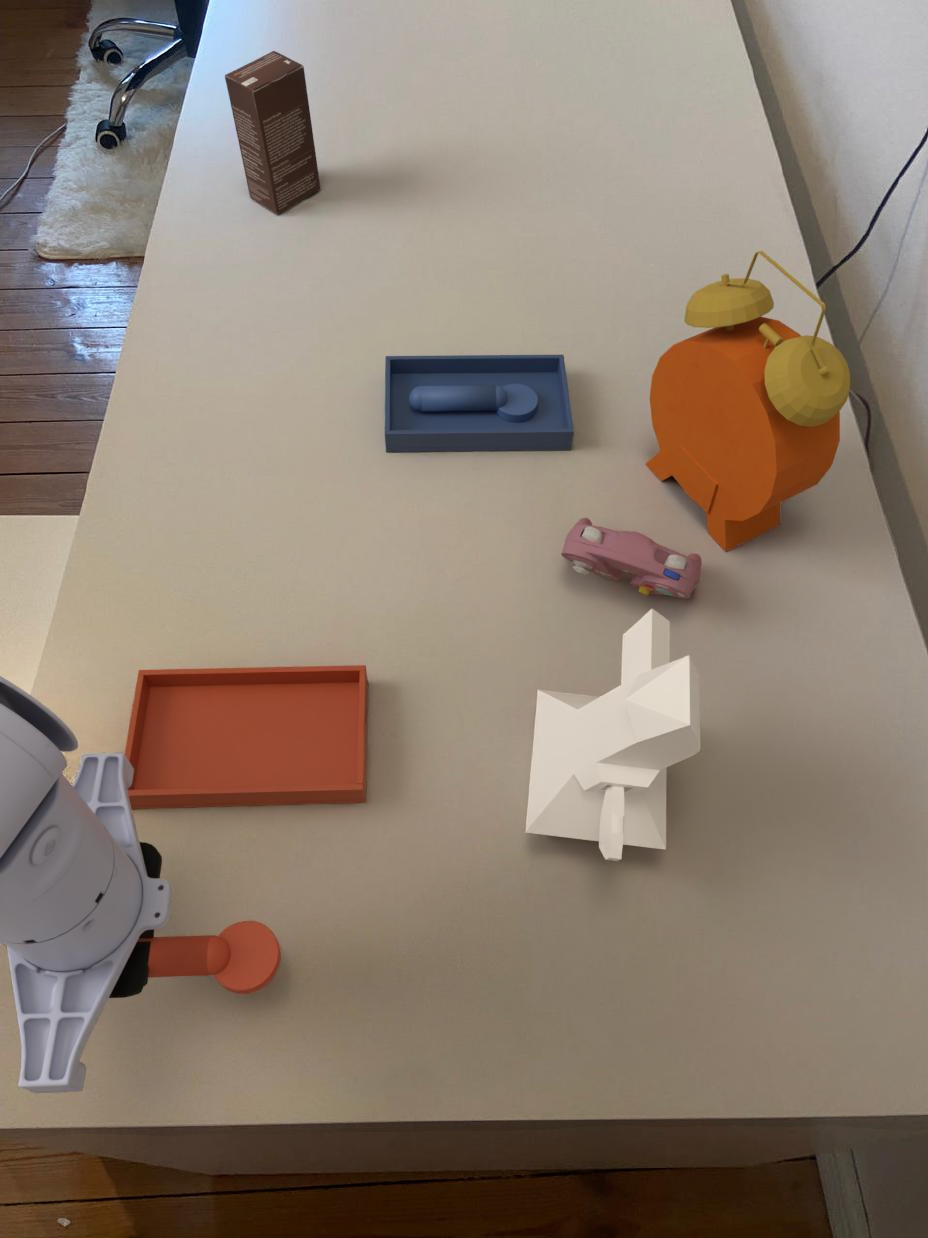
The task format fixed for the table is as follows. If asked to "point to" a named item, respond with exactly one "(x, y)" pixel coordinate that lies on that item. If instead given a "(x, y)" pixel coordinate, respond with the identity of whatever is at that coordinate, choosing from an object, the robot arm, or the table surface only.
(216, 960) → the red spoon
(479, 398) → the blue spoon
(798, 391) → the alarm clock
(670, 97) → the table surface
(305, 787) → the red tray
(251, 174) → the box
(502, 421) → the blue tray
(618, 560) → the pink toy car
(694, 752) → the white faceted sculpture
